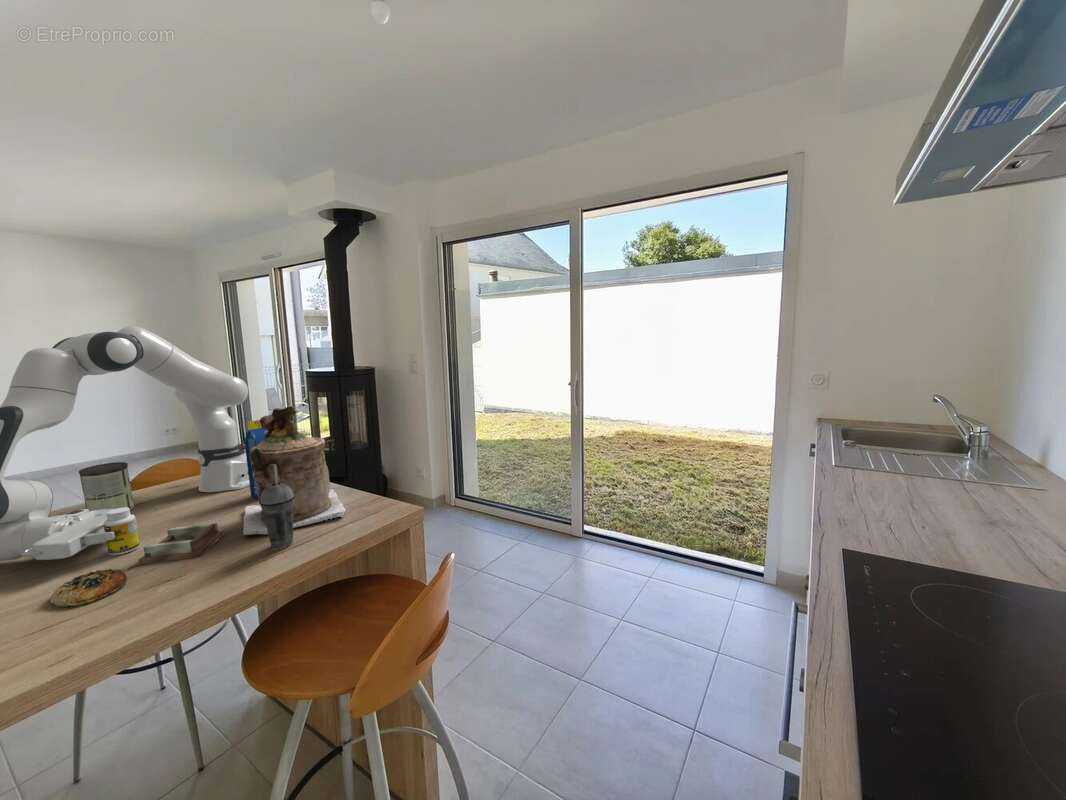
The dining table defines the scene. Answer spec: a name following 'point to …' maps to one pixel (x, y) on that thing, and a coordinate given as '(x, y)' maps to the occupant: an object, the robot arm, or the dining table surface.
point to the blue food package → (251, 440)
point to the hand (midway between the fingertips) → (125, 528)
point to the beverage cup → (278, 513)
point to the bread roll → (89, 587)
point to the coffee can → (107, 486)
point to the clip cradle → (182, 543)
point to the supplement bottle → (121, 531)
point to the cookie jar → (291, 473)
